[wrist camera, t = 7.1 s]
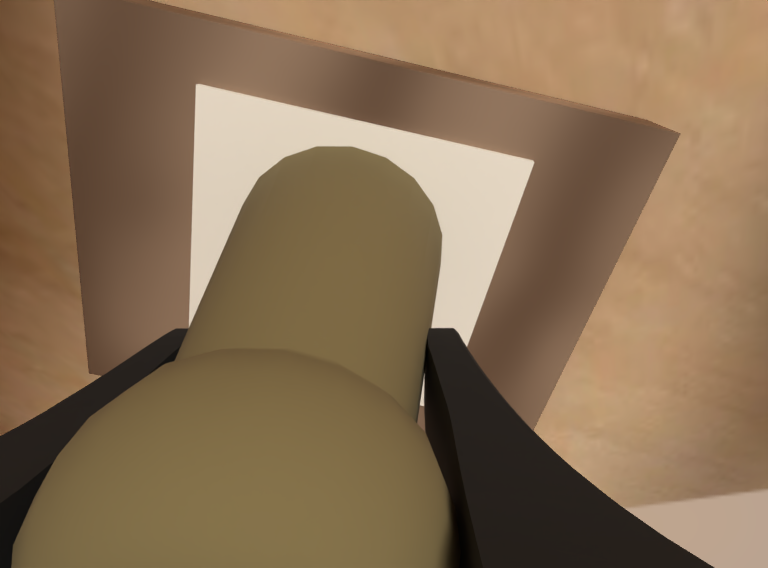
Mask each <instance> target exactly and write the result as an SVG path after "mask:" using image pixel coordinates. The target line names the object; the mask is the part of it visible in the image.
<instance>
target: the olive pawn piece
mask: <svg viewBox="0 0 768 568" xmlns="http://www.w3.org/2000/svg"><path fill="white" fill-rule="evenodd" d="M441 251H442V232H441V229H440V225H439V222H438V218H437V215H436V212H435V208H434V205H433V204H432V202H431V201H430V199H429V198H428V197H427V195H426V194H425V192H424V191H423V190H422V188H421V187H420V185H419V184H418V183H417V181H416V180H415V178H413V177H412V176H411V175H409V174H408V173H407V172H405V171H404V170H402V169H401V168H400V167H398V166H397V165H396V164H394V163H393V162H392V161H390V160H389V159H387V158H386V157H383V156H380V155H377V154H374V153H371V152H368V151H365V150H362V149H359V148H356V147H352V146H316V147H313V148H310V149H307V150H304V151H301V152H298V153H296V154H293V155H290V156H287V157H284V158H283V159H282V160H280V161H279V162H278V163H277V164H275V165H274V166H273V167H271V168H270V169H269V170H268V171H266V172H265V173H264V174H263V175H261V176H260V177H259V178H258V180H257V181H256V183H255V185H254V186H253V188H252V190H251V191H250V193H249V195H248V196H247V198H246V200H245V201H244V203H243V205H242V207H241V210H240V212H239V214H238V216H237V219H236V221H235V223H234V226H233V228H232V230H231V232H230V235H229V237H228V239H227V242H226V244H225V246H224V249H223V251H222V253H221V255H220V258H219V260H218V262H217V265H216V267H215V269H214V271H213V274H212V276H211V278H210V281H209V283H208V285H207V287H206V290H205V292H204V294H203V297H202V299H201V301H200V304H199V306H198V308H197V310H196V313H195V315H194V317H193V320H192V322H191V324H190V326H189V329H188V331H187V333H186V336H185V338H184V340H183V342H182V345H181V347H180V349H179V352H178V354H177V356H176V359H175V361H173V362H169V363H166V364H164V365H162V366H161V367H159V368H158V369H157V370H155V371H154V372H152V373H151V374H149V375H148V376H146V377H145V378H143V379H142V380H140V381H139V382H138V383H136V384H135V385H133V386H132V387H130V388H129V389H127V390H126V391H124V392H123V393H122V394H120V395H119V396H118V397H116V398H115V399H114V400H112V401H111V402H109V403H108V404H107V405H105V406H104V407H103V408H101V409H100V410H98V411H97V412H96V413H94V414H93V415H92V416H90V417H89V418H88V419H87V421H86V422H85V423H84V424H83V425H82V427H81V428H80V429H79V430H78V431H77V433H76V434H75V435H74V436H73V437H72V439H71V440H70V441H69V442H68V444H67V445H66V446H65V447H64V448H63V450H62V451H61V452H60V453H59V454H58V456H57V457H56V459H55V461H54V463H53V464H52V466H51V468H50V470H49V472H48V473H47V475H46V477H45V479H44V481H43V482H42V484H41V486H40V488H39V490H38V491H37V493H36V495H35V497H34V499H33V502H32V504H31V506H30V508H29V510H28V513H27V515H26V517H25V519H24V522H23V524H22V526H21V528H20V531H19V533H18V535H17V537H16V540H15V542H14V544H13V552H12V565H11V568H459V564H460V555H461V549H460V541H459V533H458V525H457V516H456V508H455V506H454V503H453V501H452V498H451V496H450V493H449V490H448V488H447V485H446V483H445V480H444V478H443V475H442V473H441V470H440V467H439V465H438V462H437V460H436V457H435V455H434V452H433V450H432V447H431V445H430V442H429V440H428V437H427V435H426V433H425V431H424V430H423V429H422V428H421V427H420V426H419V425H418V424H417V421H418V414H419V407H420V401H421V394H422V387H423V380H424V374H425V367H426V353H427V335H428V330H429V328H431V327H432V320H433V313H434V307H435V300H436V293H437V287H438V280H439V273H440V266H441Z"/></svg>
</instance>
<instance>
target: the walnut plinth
mask: <svg viewBox="0 0 768 568" xmlns="http://www.w3.org/2000/svg"><path fill="white" fill-rule="evenodd" d="M54 6H55V17H56V27H57V38H58V49H59V59H60V70H61V81H62V91H63V102H64V112H65V123H66V134H67V144H68V155H69V166H70V176H71V187H72V198H73V208H74V219H75V230H76V240H77V251H78V262H79V272H80V283H81V294H82V304H83V315H84V325H85V336H86V347H87V357H88V368H89V373H90V374H95V375H101V376H103V375H104V374H106V373H107V372H109V371H110V370H112V369H113V368H115V367H116V366H118V365H119V364H121V363H122V362H124V361H125V360H127V359H128V358H130V357H131V356H133V355H134V354H136V353H137V352H139V351H140V350H142V349H143V348H145V347H146V346H148V345H149V344H151V343H152V342H154V341H155V340H157V339H159V338H160V337H162V336H163V335H165V334H167V333H168V332H170V331H172V330H174V329H176V328H189V326H190V324H191V322H192V320H193V317H194V315H195V313H196V310H197V308H198V306H199V304H200V301H201V299H202V297H203V294H204V292H205V290H206V287H207V285H208V283H209V281H210V278H211V276H212V274H213V271H214V269H215V267H216V265H217V262H218V260H219V258H220V255H221V253H222V251H223V249H224V246H225V244H226V242H227V239H228V237H229V235H230V232H231V230H232V228H233V226H234V223H235V221H236V219H237V216H238V214H239V212H240V210H241V207H242V205H243V203H244V201H245V200H246V198H247V196H248V195H249V193H250V191H251V190H252V188H253V186H254V185H255V183H256V181H257V180H258V178H259V177H260V176H261V175H263V174H264V173H265V172H266V171H268V170H269V169H270V168H271V167H273V166H274V165H275V164H277V163H278V162H279V161H280V160H282V159H283V158H284V157H287V156H290V155H293V154H296V153H298V152H301V151H304V150H307V149H310V148H313V147H316V146H352V147H356V148H359V149H362V150H365V151H368V152H371V153H374V154H377V155H380V156H383V157H386V158H387V159H389V160H390V161H392V162H393V163H394V164H396V165H397V166H398V167H400V168H401V169H402V170H404V171H405V172H407V173H408V174H409V175H411V176H412V177H413V178H415V180H416V181H417V183H418V184H419V185H420V187H421V188H422V190H423V191H424V192H425V194H426V195H427V197H428V198H429V199H430V201H431V202H432V204H433V205H434V208H435V212H436V215H437V218H438V222H439V225H440V229H441V232H442V251H441V266H440V273H439V280H438V287H437V293H436V300H435V307H434V313H433V320H432V327H431V328H454V329H455V330H456V331H457V332H458V333H459V335H460V336H461V338H462V340H463V342H464V343H465V345H466V347H467V348H468V350H469V351H470V353H471V354H472V356H473V357H474V359H475V360H476V362H477V363H478V365H479V366H480V367H481V369H482V370H483V372H484V373H485V374H486V376H487V377H488V378H489V380H490V381H491V382H492V383H493V385H494V386H495V387H496V389H497V390H498V391H499V393H500V394H501V395H502V396H503V397H504V399H505V400H506V401H507V402H508V403H509V405H510V406H511V407H512V408H513V409H514V410H515V411H516V412H517V414H518V415H519V416H520V417H521V418H522V419H523V420H524V421H525V422H526V424H527V425H528V426H529V427H530V428H531V429H532V430H534V428H535V426H536V424H537V422H538V420H539V418H540V416H541V414H542V412H543V410H544V408H545V406H546V404H547V402H548V400H549V398H550V396H551V394H552V392H553V390H554V388H555V386H556V384H557V382H558V380H559V378H560V376H561V374H562V372H563V370H564V368H565V365H566V363H567V361H568V359H569V357H570V355H571V353H572V351H573V349H574V347H575V345H576V343H577V341H578V339H579V337H580V335H581V333H582V331H583V329H584V327H585V325H586V323H587V321H588V319H589V317H590V315H591V313H592V311H593V309H594V307H595V305H596V303H597V301H598V299H599V297H600V295H601V293H602V291H603V289H604V287H605V285H606V283H607V281H608V279H609V277H610V275H611V273H612V271H613V269H614V267H615V265H616V263H617V261H618V259H619V257H620V255H621V253H622V251H623V249H624V247H625V245H626V242H627V240H628V238H629V236H630V234H631V232H632V230H633V228H634V226H635V224H636V222H637V220H638V218H639V216H640V214H641V212H642V210H643V208H644V206H645V204H646V202H647V200H648V198H649V196H650V194H651V192H652V190H653V188H654V186H655V184H656V182H657V180H658V178H659V176H660V174H661V172H662V170H663V168H664V166H665V164H666V162H667V160H668V158H669V156H670V154H671V152H672V150H673V148H674V146H675V144H676V142H677V140H678V138H679V136H680V133H678V132H675V131H673V130H670V129H668V128H665V127H663V126H660V125H658V124H656V123H653V122H651V121H648V120H645V119H641V118H637V117H633V116H628V115H624V114H620V113H616V112H612V111H608V110H603V109H599V108H595V107H591V106H587V105H583V104H578V103H574V102H570V101H566V100H562V99H558V98H553V97H549V96H545V95H541V94H537V93H533V92H528V91H524V90H520V89H516V88H512V87H508V86H503V85H499V84H495V83H491V82H487V81H483V80H479V79H474V78H470V77H466V76H462V75H458V74H454V73H449V72H445V71H441V70H437V69H433V68H429V67H424V66H420V65H416V64H412V63H408V62H404V61H399V60H395V59H391V58H387V57H383V56H379V55H374V54H370V53H366V52H362V51H358V50H354V49H349V48H345V47H341V46H337V45H333V44H329V43H324V42H320V41H316V40H312V39H308V38H304V37H299V36H295V35H291V34H287V33H283V32H279V31H275V30H270V29H266V28H262V27H258V26H254V25H250V24H245V23H241V22H237V21H233V20H229V19H225V18H220V17H216V16H212V15H208V14H204V13H200V12H195V11H191V10H187V9H183V8H179V7H175V6H170V5H166V4H162V3H158V2H154V1H150V0H54ZM424 376H425V374H424ZM417 424H418V425H419V426H420V427H421V428H422V429H423V430H424V431H425V415H424V380H423V387H422V394H421V401H420V407H419V414H418V421H417Z"/></svg>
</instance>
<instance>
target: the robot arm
mask: <svg viewBox="0 0 768 568" xmlns="http://www.w3.org/2000/svg"><path fill="white" fill-rule="evenodd" d="M188 329H189V328H176V329H174V330H172V331H170V332H168V333H167V334H165V335H163V336H162V337H160V338H159V339H157V340H155V341H154V342H152V343H151V344H149V345H148V346H146V347H145V348H143V349H142V350H140V351H139V352H137V353H136V354H134V355H133V356H131V357H130V358H128V359H127V360H125V361H124V362H122V363H121V364H119V365H118V366H116V367H115V368H113V369H112V370H110V371H109V372H107V373H106V374H104V375H103V376H101V377H100V378H98V379H97V380H95V381H94V382H92V383H91V384H89V385H87V386H86V387H84V388H82V389H81V390H79V391H78V392H76V393H74V394H73V395H71V396H69V397H68V398H66V399H65V400H63V401H61V402H60V403H58V404H57V405H55V406H53V407H52V408H50V409H48V410H47V411H45V412H43V413H42V414H40V415H38V416H36V417H35V418H33V419H31V420H29V421H28V422H26V423H24V424H22V425H20V426H19V427H17V428H15V429H13V430H11V431H9V432H7V433H5V434H3V435H2V436H0V568H11V565H12V552H13V544H14V542H15V540H16V537H17V535H18V533H19V531H20V528H21V526H22V524H23V522H24V519H25V517H26V515H27V513H28V510H29V508H30V506H31V504H32V502H33V499H34V497H35V495H36V493H37V491H38V490H39V488H40V486H41V484H42V482H43V481H44V479H45V477H46V475H47V473H48V472H49V470H50V468H51V466H52V464H53V463H54V461H55V459H56V457H57V456H58V454H59V453H60V452H61V451H62V450H63V448H64V447H65V446H66V445H67V444H68V442H69V441H70V440H71V439H72V437H73V436H74V435H75V434H76V433H77V431H78V430H79V429H80V428H81V427H82V425H83V424H84V423H85V422H86V421H87V419H88V418H89V417H90V416H92V415H93V414H94V413H96V412H97V411H98V410H100V409H101V408H103V407H104V406H105V405H107V404H108V403H109V402H111V401H112V400H114V399H115V398H116V397H118V396H119V395H120V394H122V393H123V392H124V391H126V390H127V389H129V388H130V387H132V386H133V385H135V384H136V383H138V382H139V381H140V380H142V379H143V378H145V377H146V376H148V375H149V374H151V373H152V372H154V371H155V370H157V369H158V368H159V367H161V366H162V365H164V364H166V363H169V362H173V361H175V359H176V356H177V354H178V352H179V349H180V347H181V345H182V342H183V340H184V338H185V336H186V333H187V331H188ZM424 415H425V433H426V435H427V437H428V440H429V442H430V445H431V447H432V450H433V452H434V455H435V457H436V460H437V462H438V465H439V467H440V470H441V473H442V475H443V478H444V480H445V483H446V485H447V488H448V490H449V493H450V496H451V498H452V501H453V503H454V506H455V508H456V516H457V525H458V533H459V541H460V549H461V555H460V564H459V568H714V567H712V566H711V565H709V564H707V563H706V562H704V561H703V560H701V559H699V558H698V557H696V556H695V555H693V554H692V553H690V552H688V551H687V550H685V549H683V548H682V547H680V546H679V545H677V544H675V543H674V542H672V541H671V540H669V539H667V538H666V537H664V536H663V535H661V534H660V533H658V532H657V531H656V530H654V529H653V528H651V527H650V526H648V525H647V524H646V523H644V522H643V521H641V520H640V519H638V518H637V517H636V516H634V515H633V514H631V513H630V512H628V511H627V510H626V509H624V508H623V507H622V506H620V505H619V504H618V503H616V502H615V501H614V500H612V499H611V498H610V497H608V496H607V495H606V494H604V493H603V492H602V491H601V490H599V489H598V488H597V487H596V486H595V485H593V484H592V483H591V482H590V481H588V480H587V479H586V478H585V477H583V476H582V475H581V474H580V473H578V472H577V471H576V470H575V469H573V468H572V467H571V466H570V465H569V464H568V463H567V462H565V461H564V460H563V459H562V458H561V457H560V456H559V455H558V454H557V453H555V452H554V451H553V450H552V449H551V448H550V447H549V446H548V445H547V444H546V443H545V442H544V441H543V440H542V439H541V438H540V437H539V436H538V435H537V434H536V433H535V432H534V431H533V430H532V429H531V428H530V427H529V426H528V425H527V424H526V422H525V421H524V420H523V419H522V418H521V417H520V416H519V415H518V414H517V412H516V411H515V410H514V409H513V408H512V407H511V406H510V405H509V403H508V402H507V401H506V400H505V399H504V397H503V396H502V395H501V394H500V393H499V391H498V390H497V389H496V387H495V386H494V385H493V383H492V382H491V381H490V380H489V378H488V377H487V376H486V374H485V373H484V372H483V370H482V369H481V367H480V366H479V365H478V363H477V362H476V360H475V359H474V357H473V356H472V354H471V353H470V351H469V350H468V348H467V347H466V345H465V343H464V342H463V340H462V338H461V336H460V335H459V333H458V332H457V331H456V330H455V329H454V328H429V330H428V335H427V353H426V367H425V376H424Z"/></svg>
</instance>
